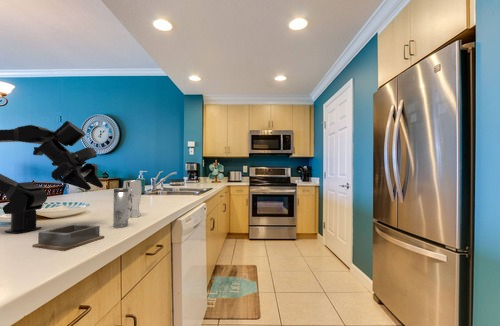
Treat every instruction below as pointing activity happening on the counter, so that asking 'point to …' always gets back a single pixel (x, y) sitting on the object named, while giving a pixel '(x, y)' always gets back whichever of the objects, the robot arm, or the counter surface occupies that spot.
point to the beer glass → (133, 197)
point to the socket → (68, 237)
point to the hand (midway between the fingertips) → (96, 188)
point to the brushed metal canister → (120, 208)
